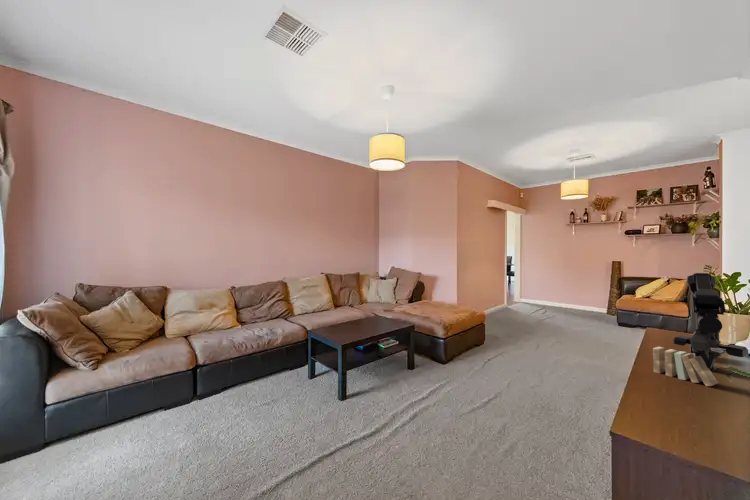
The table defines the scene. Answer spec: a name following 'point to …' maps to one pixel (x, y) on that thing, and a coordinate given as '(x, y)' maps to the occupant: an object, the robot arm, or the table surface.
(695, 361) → the domino
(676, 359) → the domino
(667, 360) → the domino
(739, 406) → the table surface
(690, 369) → the domino
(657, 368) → the domino
